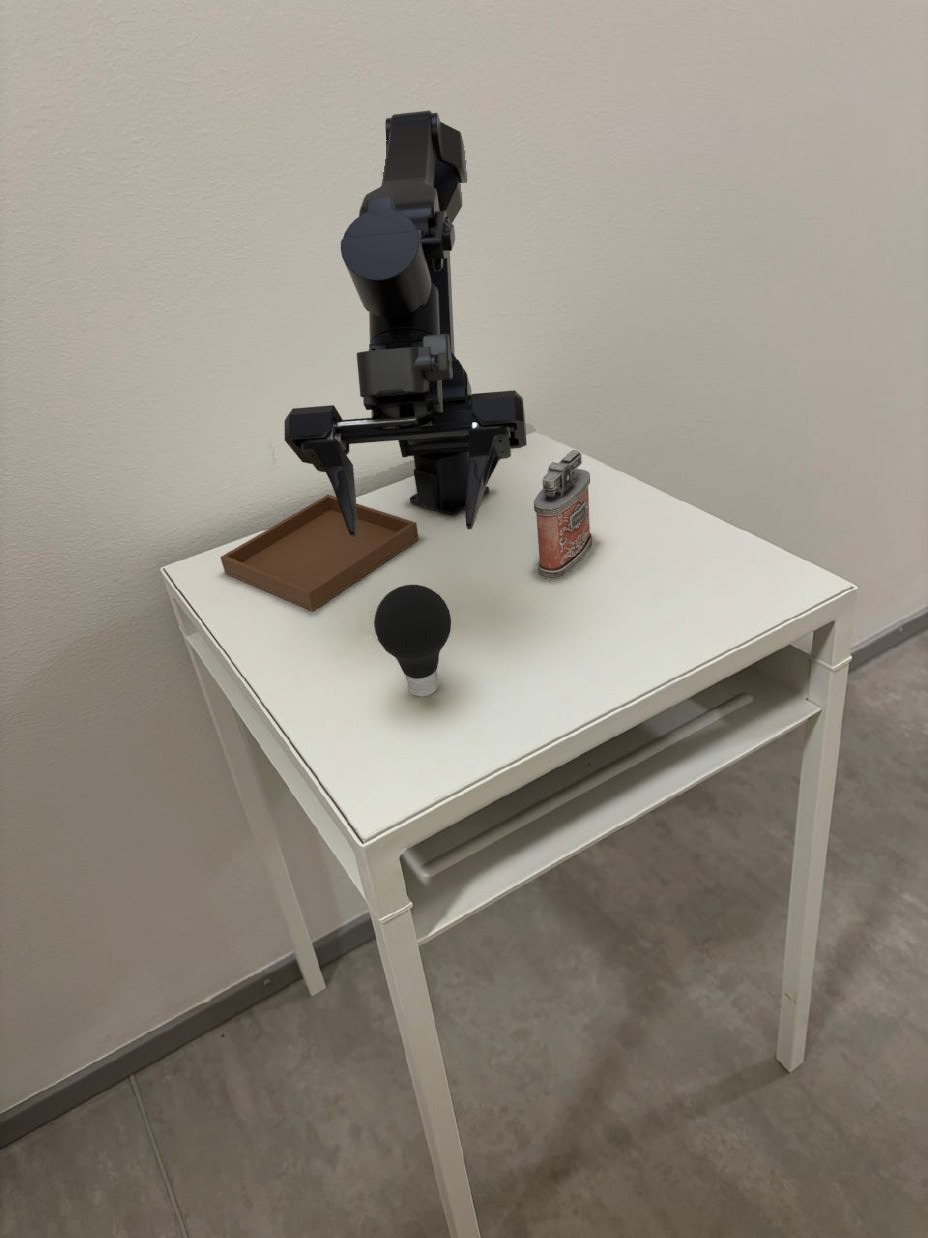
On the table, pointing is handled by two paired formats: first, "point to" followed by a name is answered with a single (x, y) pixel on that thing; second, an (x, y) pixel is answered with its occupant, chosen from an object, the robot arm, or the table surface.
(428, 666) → the light bulb
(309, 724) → the table surface
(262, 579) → the tray
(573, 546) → the lighter
